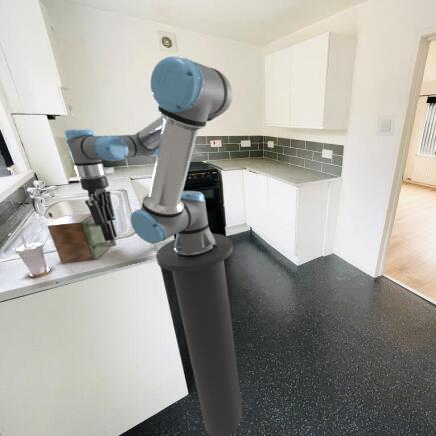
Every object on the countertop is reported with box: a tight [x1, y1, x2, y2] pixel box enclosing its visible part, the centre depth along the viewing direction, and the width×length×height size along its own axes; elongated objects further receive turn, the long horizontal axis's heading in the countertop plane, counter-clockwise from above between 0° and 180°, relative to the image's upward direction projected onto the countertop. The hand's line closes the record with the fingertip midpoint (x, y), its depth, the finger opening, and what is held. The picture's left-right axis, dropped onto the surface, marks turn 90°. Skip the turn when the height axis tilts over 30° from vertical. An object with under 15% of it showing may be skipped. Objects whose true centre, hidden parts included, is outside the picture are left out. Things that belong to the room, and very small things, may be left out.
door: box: [82, 216, 118, 260], centre depth 95 cm, size 8×11×15 cm
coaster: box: [29, 267, 51, 278], centre depth 83 cm, size 5×5×1 cm
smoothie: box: [14, 234, 48, 275], centre depth 81 cm, size 6×6×14 cm
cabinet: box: [46, 212, 94, 264], centre depth 93 cm, size 10×11×15 cm
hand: (111, 238), depth 92 cm, fingers open, 2 cm apart
